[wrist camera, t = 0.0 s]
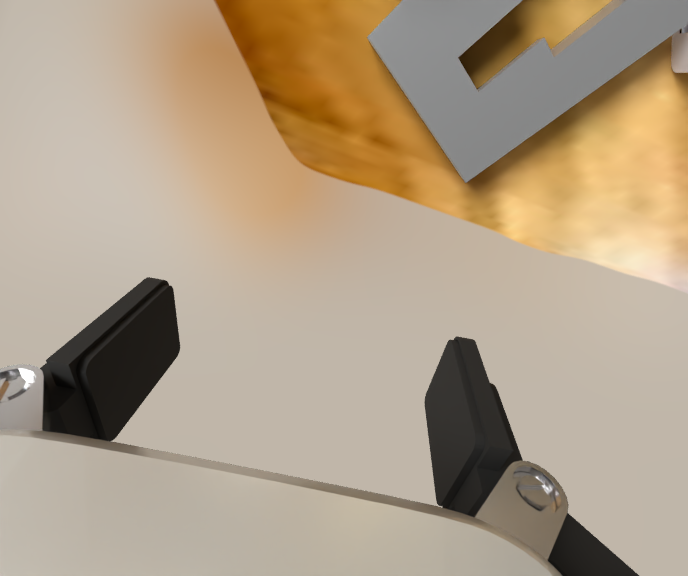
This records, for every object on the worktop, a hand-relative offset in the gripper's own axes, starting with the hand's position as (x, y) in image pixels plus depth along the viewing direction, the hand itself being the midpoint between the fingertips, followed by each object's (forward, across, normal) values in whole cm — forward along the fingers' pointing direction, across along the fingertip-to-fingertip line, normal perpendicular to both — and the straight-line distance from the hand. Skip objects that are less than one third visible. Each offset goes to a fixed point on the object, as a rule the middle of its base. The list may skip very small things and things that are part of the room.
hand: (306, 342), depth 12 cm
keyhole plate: (+31, -11, -13) cm, 36 cm away
